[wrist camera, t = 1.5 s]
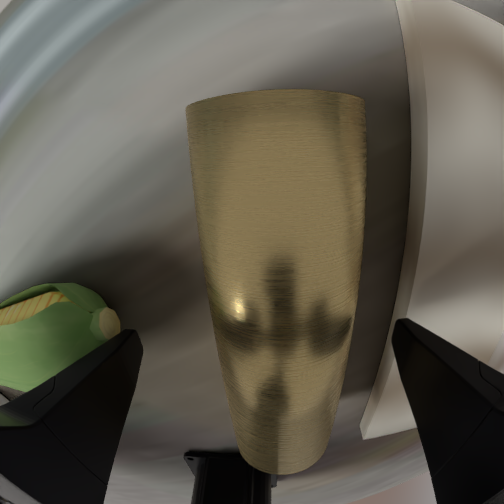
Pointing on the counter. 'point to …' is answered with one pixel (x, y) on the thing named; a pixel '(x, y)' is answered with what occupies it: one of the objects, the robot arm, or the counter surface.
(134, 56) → the counter surface
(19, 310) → the edible corn
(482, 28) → the hinge leaves
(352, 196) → the hinge pin
